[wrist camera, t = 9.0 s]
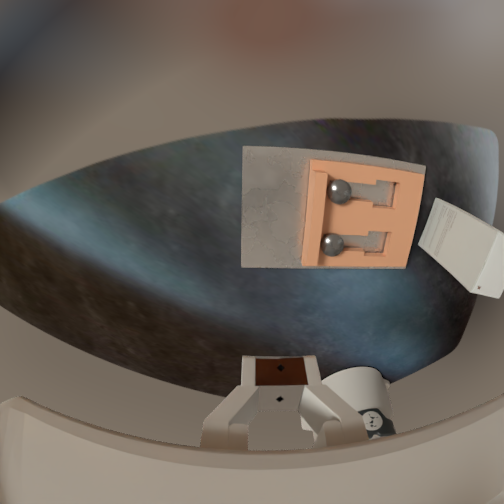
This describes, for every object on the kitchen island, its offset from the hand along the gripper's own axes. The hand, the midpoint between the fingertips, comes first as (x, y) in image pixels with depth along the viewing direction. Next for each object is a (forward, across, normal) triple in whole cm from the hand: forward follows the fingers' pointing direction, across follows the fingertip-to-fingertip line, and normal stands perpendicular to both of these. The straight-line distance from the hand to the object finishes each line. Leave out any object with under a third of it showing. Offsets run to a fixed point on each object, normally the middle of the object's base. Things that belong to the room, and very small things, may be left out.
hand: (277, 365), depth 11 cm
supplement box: (+23, -26, 0) cm, 34 cm away
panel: (+21, -12, 0) cm, 24 cm away
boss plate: (+22, -9, 0) cm, 24 cm away
